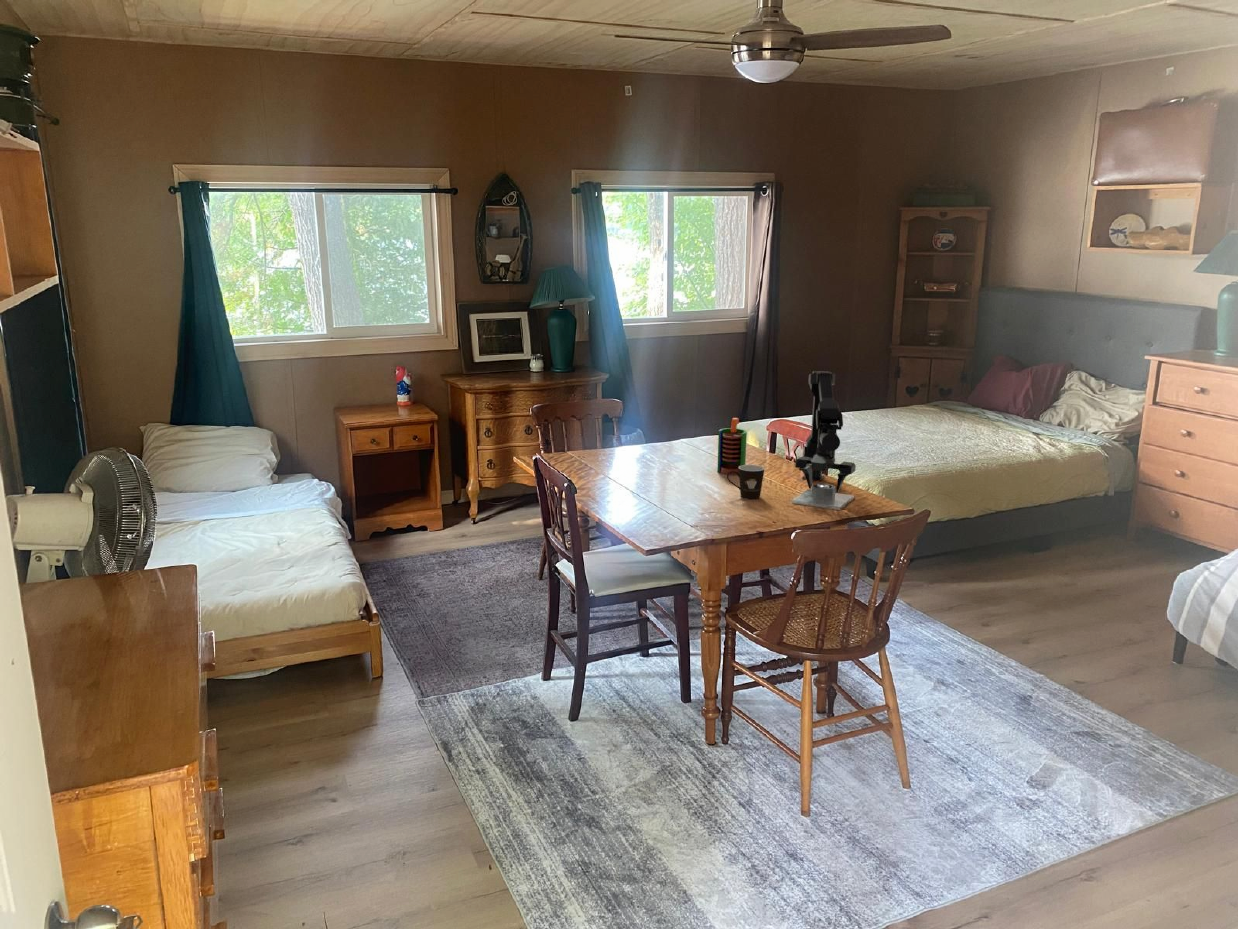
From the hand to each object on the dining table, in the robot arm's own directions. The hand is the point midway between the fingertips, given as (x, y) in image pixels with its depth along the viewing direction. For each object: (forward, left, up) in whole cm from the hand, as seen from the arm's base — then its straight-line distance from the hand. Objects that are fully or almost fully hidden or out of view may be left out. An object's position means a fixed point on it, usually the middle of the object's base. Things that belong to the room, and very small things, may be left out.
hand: (823, 490), depth 311 cm
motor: (-20, -41, -4) cm, 46 cm away
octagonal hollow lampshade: (0, 0, -2) cm, 3 cm away
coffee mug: (+8, -24, -4) cm, 26 cm away
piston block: (0, 0, -4) cm, 4 cm away
